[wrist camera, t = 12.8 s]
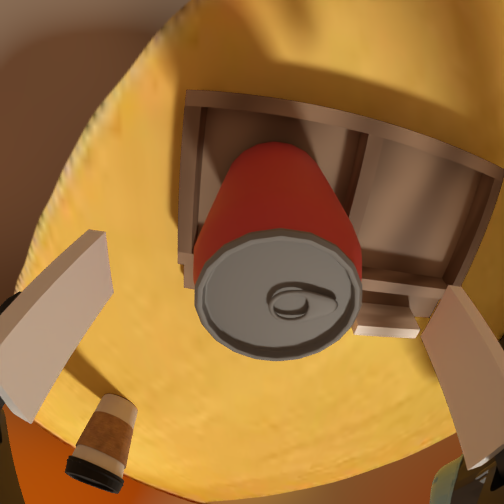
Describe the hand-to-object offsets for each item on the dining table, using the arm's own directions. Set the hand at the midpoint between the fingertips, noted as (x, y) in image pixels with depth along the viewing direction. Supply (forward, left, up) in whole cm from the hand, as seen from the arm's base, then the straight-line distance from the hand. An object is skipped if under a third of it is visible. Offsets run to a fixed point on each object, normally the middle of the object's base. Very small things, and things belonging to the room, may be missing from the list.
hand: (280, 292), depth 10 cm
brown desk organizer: (-5, +2, -12) cm, 13 cm away
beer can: (0, 0, -11) cm, 11 cm away
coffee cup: (+18, +36, -12) cm, 42 cm away
